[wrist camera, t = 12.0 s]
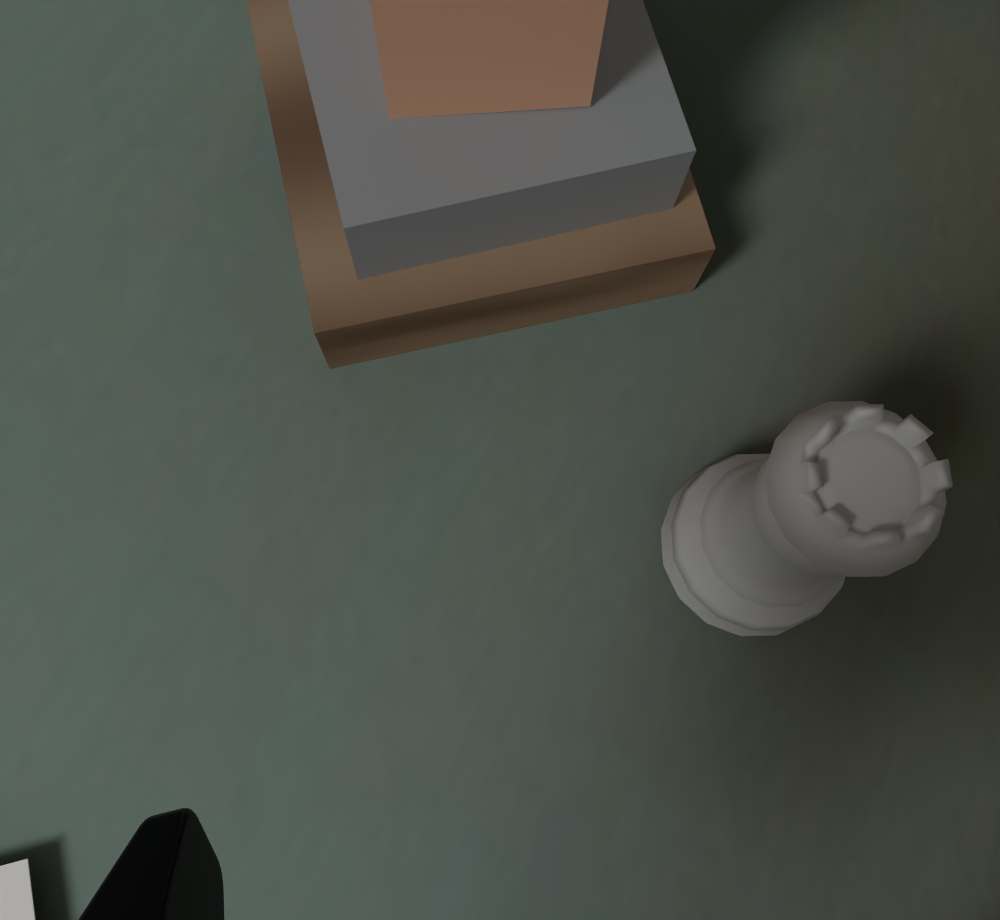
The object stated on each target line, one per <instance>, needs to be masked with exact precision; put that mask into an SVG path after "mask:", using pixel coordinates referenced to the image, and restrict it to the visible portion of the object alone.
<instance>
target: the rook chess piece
mask: <svg viewBox="0 0 1000 920" xmlns="http://www.w3.org/2000/svg"><path fill="white" fill-rule="evenodd" d="M883 406H884V404H869V403H866V402H864V401H831V402H826V403H823V404H821V405H819V406H816V407H814V408H812V409H810V410H807V411H805V412H803V413H800V414H798V415H797V416H796V417H795V418H794V419H793V420H792V421H791V422H790V423H789V425H788V426H787V427H786V428H785V429H784V430H783V431H782V432H781V433H780V434H779V435H778V437H777V438H776V439H775V441H774V444H773V448H772V451H771V454H735V455H733V456H730V457H728V458H726V459H723V460H721V461H719V462H717V463H714V464H712V465H710V466H707V467H705V468H704V469H703V470H702V471H700V472H698V473H696V474H694V475H693V476H692V477H691V478H690V479H689V480H688V481H687V483H686V484H685V485H684V486H683V487H682V488H681V489H680V490H679V491H678V492H677V493H676V494H675V495H674V497H673V498H672V499H671V502H670V505H669V508H668V511H667V514H666V517H665V520H664V523H663V525H662V528H661V540H662V555H663V566H664V568H665V570H666V572H667V574H668V576H669V578H670V580H671V582H672V584H673V586H674V589H675V591H676V593H677V595H678V597H679V598H680V599H681V600H682V601H683V602H684V603H685V604H686V605H687V606H688V607H689V608H690V609H692V610H693V611H694V612H695V613H696V614H697V615H698V616H699V617H700V618H701V619H702V620H703V621H705V622H706V623H707V624H710V625H713V626H715V627H718V628H720V629H723V630H726V631H728V632H731V633H733V634H736V635H738V636H775V635H778V634H780V633H782V632H785V631H787V630H789V629H791V628H793V627H795V626H797V625H800V624H802V623H804V622H806V621H808V620H809V619H812V618H814V617H816V616H818V615H819V614H820V613H821V612H822V611H823V610H824V608H825V607H826V606H827V605H828V604H829V602H830V601H831V600H832V599H833V598H834V597H835V595H836V594H837V593H838V592H839V591H840V590H841V588H842V586H843V584H844V580H845V577H846V576H847V577H879V576H887V575H889V574H891V573H893V572H895V571H898V570H900V569H902V568H904V567H906V566H908V565H910V564H913V563H915V562H917V560H918V559H919V558H920V557H921V556H922V554H923V553H924V552H925V551H926V550H927V548H928V547H929V546H930V545H931V544H932V542H933V541H934V540H935V539H936V538H937V536H938V534H939V530H940V526H941V523H942V519H943V516H944V515H945V513H944V511H945V508H946V504H947V501H946V494H945V490H947V489H949V488H952V487H953V485H952V478H951V471H950V465H949V459H945V460H941V461H937V459H936V457H935V456H934V454H933V452H932V450H931V449H930V447H929V445H928V443H927V442H926V440H925V439H927V438H928V437H929V436H931V435H932V434H934V433H933V432H932V431H931V430H929V429H928V428H927V427H926V426H925V425H923V424H922V423H921V422H920V421H919V420H918V419H916V418H915V417H914V416H913V415H912V414H911V415H909V416H907V417H906V418H904V419H902V418H901V417H900V416H898V415H897V414H896V413H894V412H891V411H888V410H885V409H883Z"/></svg>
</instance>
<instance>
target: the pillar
mask: <svg viewBox="0 0 1000 920" xmlns="http://www.w3.org/2000/svg"><path fill="white" fill-rule="evenodd" d="M608 1H609V0H370V6H371V12H372V18H373V24H374V30H375V36H376V42H377V48H378V54H379V60H380V66H381V72H382V78H383V84H384V90H385V96H386V102H387V108H388V114H389V119H397V118H413V117H429V116H445V115H460V114H476V113H492V112H508V111H524V110H540V109H556V108H572V107H588V106H590V105H591V99H592V93H593V87H594V82H595V76H596V70H597V64H598V59H599V53H600V47H601V42H602V36H603V30H604V24H605V19H606V13H607V7H608Z"/></svg>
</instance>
